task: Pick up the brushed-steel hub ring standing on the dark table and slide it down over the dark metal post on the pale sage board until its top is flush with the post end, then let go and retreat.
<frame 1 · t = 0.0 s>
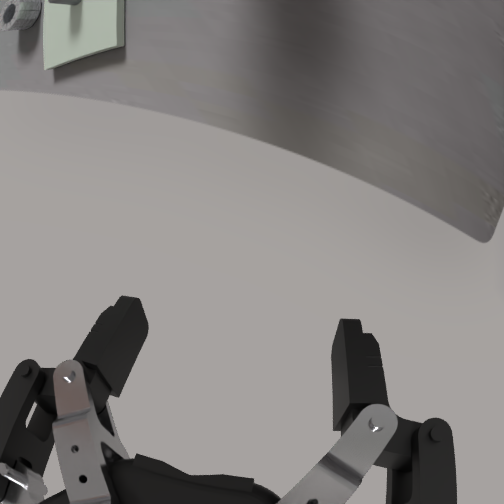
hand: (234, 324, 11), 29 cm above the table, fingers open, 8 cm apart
hub: (29, 13, 24), on the table
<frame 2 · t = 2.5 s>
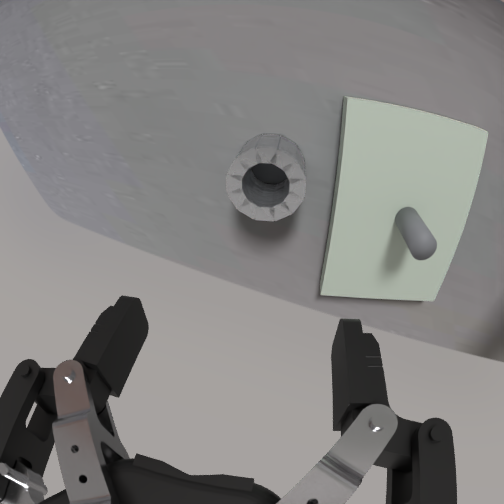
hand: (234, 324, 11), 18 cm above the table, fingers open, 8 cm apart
hub: (270, 166, 26), on the table
post base: (400, 209, 26), on the table
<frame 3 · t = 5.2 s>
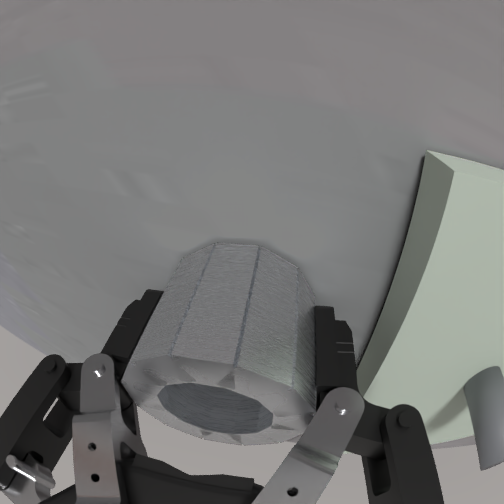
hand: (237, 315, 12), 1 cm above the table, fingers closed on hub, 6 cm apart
hub: (240, 305, 12), on the table, touching gripper
post base: (472, 351, 12), on the table
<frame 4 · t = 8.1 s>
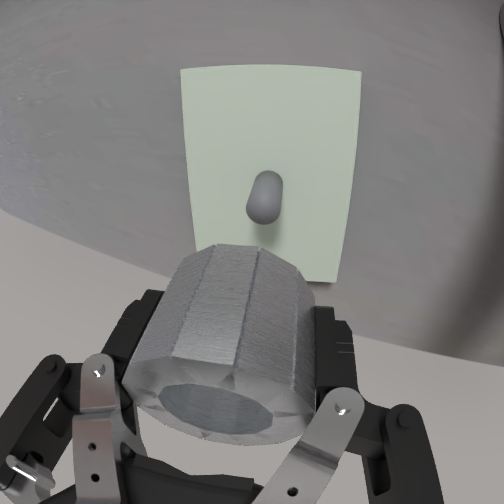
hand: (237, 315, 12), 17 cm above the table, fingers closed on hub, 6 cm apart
hub: (240, 305, 12), point 17 cm above the table, touching gripper
post base: (270, 176, 26), on the table
when the fingers open (4 cm above the table, at t = 11.4 s): hub drops 1 cm, resting on post base.
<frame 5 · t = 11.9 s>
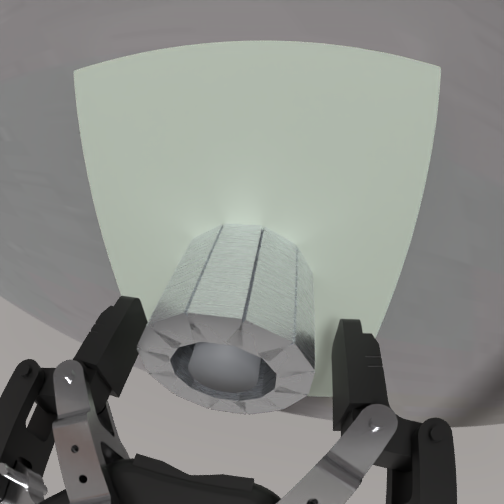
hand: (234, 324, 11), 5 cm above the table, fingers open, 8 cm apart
hub: (244, 282, 14), point 2 cm above the table, touching post base
post base: (250, 257, 15), on the table
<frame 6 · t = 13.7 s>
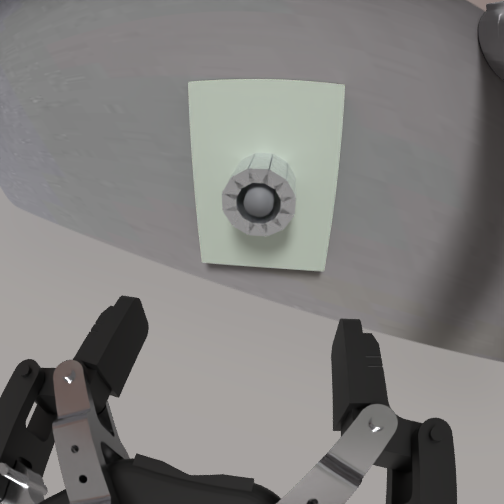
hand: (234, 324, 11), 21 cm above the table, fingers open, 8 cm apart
hub: (263, 182, 28), point 2 cm above the table, touching post base
post base: (265, 176, 30), on the table
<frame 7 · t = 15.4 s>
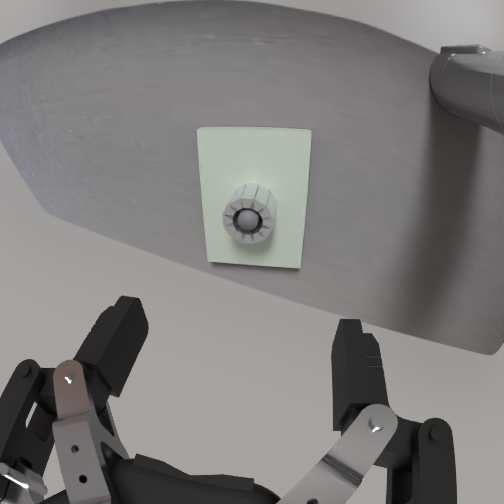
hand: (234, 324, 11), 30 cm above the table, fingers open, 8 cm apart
hub: (253, 204, 39), point 2 cm above the table, touching post base
post base: (254, 197, 41), on the table
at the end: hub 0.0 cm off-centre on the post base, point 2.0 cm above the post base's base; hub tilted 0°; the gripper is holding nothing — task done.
